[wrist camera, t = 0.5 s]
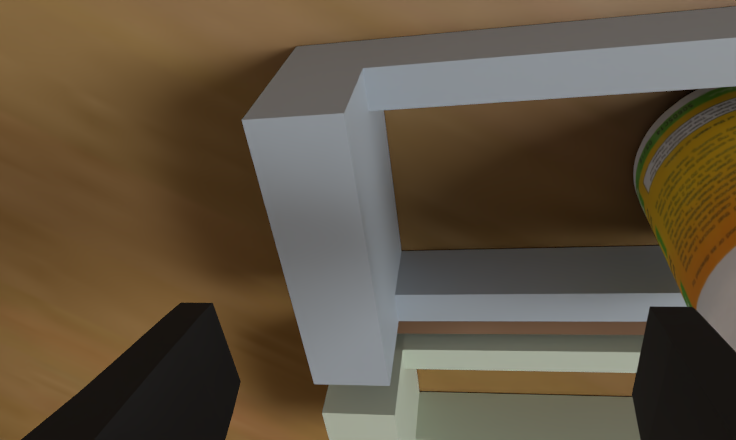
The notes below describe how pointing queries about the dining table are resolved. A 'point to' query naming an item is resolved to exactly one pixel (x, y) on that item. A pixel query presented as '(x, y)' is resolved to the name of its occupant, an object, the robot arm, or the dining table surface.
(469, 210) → the dining table surface
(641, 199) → the supplement bottle
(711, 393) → the robot arm
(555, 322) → the walnut guide
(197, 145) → the dining table surface
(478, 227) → the dining table surface
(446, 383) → the dining table surface
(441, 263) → the gray rectangular open frame
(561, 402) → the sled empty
